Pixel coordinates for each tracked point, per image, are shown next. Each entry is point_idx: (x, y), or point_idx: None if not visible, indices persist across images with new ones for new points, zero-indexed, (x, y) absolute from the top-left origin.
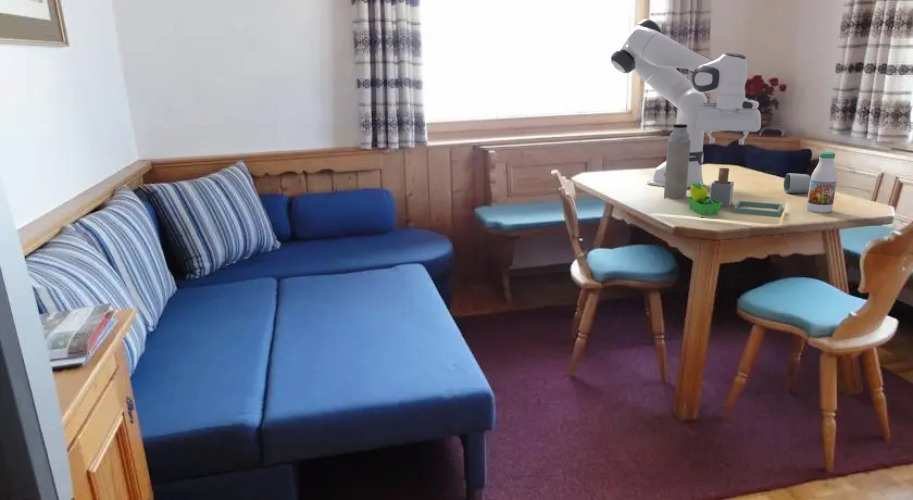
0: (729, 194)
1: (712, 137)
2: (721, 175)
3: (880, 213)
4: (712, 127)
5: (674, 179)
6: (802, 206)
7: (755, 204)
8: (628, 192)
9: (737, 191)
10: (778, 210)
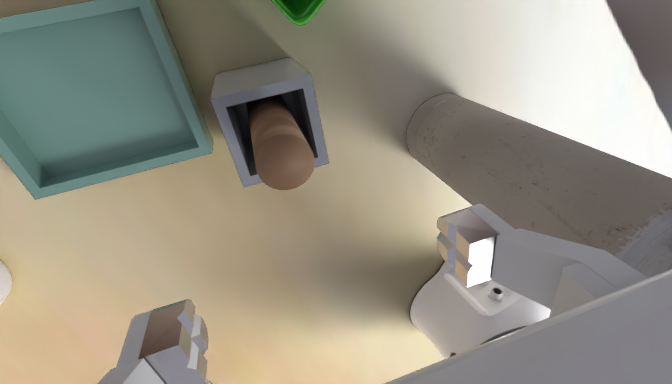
0: (216, 87)
1: (495, 281)
2: (281, 123)
3: None
4: (657, 330)
5: (489, 117)
6: (54, 289)
7: (141, 159)
8: (574, 125)
9: (315, 318)
10: None
